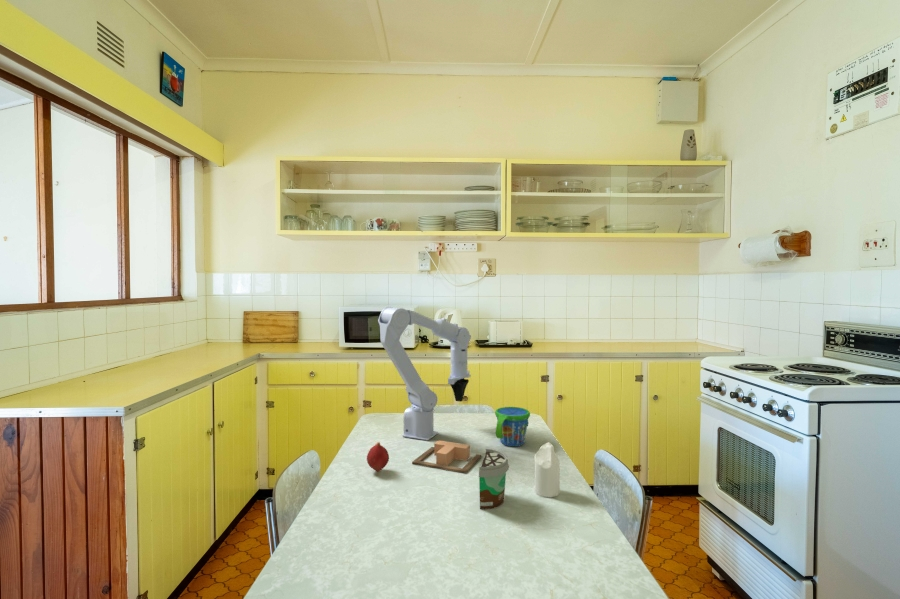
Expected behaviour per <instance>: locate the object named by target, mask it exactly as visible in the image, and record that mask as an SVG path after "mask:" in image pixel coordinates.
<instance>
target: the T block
mask: <svg viewBox="0 0 900 599" xmlns="http://www.w3.org/2000/svg"><path fill="white" fill-rule="evenodd" d="M433 446H434V452H433V455H434V456H435V457H436V458H435V462H436V463H435V464H441V465H448V466H450V464H451V463H452V462H453V461H454V460H458V461H459V460H460V461H467V460H468V459H470V457H471V445H470V444H466V443H460V442H459V443H457V442H452V441H445V440H437V441H436V442H435V443H434V444H433Z"/></svg>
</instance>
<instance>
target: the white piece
mask: <svg viewBox="0 0 900 599" xmlns="http://www.w3.org/2000/svg"><path fill="white" fill-rule="evenodd" d="M560 464H561V462H560V458H559V457H558V455H557V453H556V451H555V447H554V445H553V444H552V443H551V442H548V441H547V442H545V443H544V444H542V445H541V446H540V448H539V449H538V450H537V451H536V453H535V455H534V493H535V494H536V495H537V496H539V497H544V498H554V497H557V496H559V495H560V490H561V488H560V483H561V481H560V480H561V479H560V478H561V473H560V471H561V466H560Z"/></svg>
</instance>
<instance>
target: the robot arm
mask: <svg viewBox="0 0 900 599" xmlns="http://www.w3.org/2000/svg"><path fill="white" fill-rule="evenodd" d="M377 322H378V324H379V325H378V326H379V332H380V333H379V334H380V335H379V336H380V343H381V346H382V347H383V348H384V350H385V352H386V354H387V356H388V357H389V359H390V360H391V363H392V364H393V365H394V368H395V369H396V372H398V374H399V376H400V377H401V379H402V381H403V382H404V384H405V391H406V394H407V400H408V401H409V403H410V405H411V406H409V407H407V408H406V409H405V410H404V412H403V434H402V437H403V438H411V439H418V440H421V441H429V440H431V439H432V438H434V436H437V434H439V430H438V431H437V430H434V427H435V426H434V420H435V419H434V411H435V408H436V405H437V404H438V396H437V393H435V392H434V391H433V390H431V389H430V387H429V386H428V385H427V384H426V383H425V382H424V380H422V378H421V377H420V375H419V372H418V371H417V369H416V368H415V366H414V364H413V362H412V360H411V358H410V357H409V355H408V354H407V352H406V349H405V348H404V347H403V345H402V342H401V341H400V339H401V336H402V335H403V334H404V331H405V330H406V329H407V327H408V326H413V325H416V326H420V327H423V328H425V329H429V330H431V332H432V334H433V335H434V336H437V337H439V338H441V339H445V340H447V341H449V342H450V374H449V377H448V378H447V384H448V385H450V386H451V389H452V392H453V396H454V400H455V401H456V402H463V400H464V396H465V391H466V388H467V386H468V383H469V381H470V380H469V378H471V376H472V374H470V370H468V347H469V343H470V341H471V339H472V334H470V330H469V329H468V328H466V327H462V326H459V324H458V323H456V322H454V323H452V322H449V321H448V319H447V318H444V317H442V318H438V319H436V320H435V319H432V318H429V317H427V316H425V315H423V314H421V313H419V312H416V311H413V310H410V309H405V308H402V307H399V308H398V307H397V308H396V307H392V306H386V307H385V308H383V309H382V310H381V312H380V314H379V317H378V319H377Z"/></svg>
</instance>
